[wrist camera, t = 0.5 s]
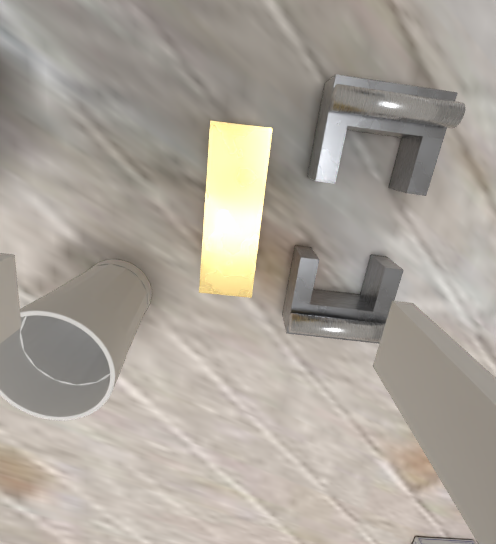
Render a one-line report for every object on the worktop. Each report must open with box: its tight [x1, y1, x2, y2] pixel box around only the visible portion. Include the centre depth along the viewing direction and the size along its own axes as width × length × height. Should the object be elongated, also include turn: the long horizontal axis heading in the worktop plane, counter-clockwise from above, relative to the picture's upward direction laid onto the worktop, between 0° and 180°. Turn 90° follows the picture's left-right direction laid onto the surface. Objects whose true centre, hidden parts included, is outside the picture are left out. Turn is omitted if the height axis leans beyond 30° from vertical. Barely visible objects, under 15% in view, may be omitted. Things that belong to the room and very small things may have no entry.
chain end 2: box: [282, 246, 403, 344], centre depth 30 cm, size 7×8×5 cm
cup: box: [0, 259, 152, 420], centre depth 26 cm, size 8×8×12 cm
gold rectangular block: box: [199, 121, 273, 298], centre depth 27 cm, size 12×4×6 cm, turn 174°
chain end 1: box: [308, 75, 465, 196], centre depth 25 cm, size 7×8×5 cm
